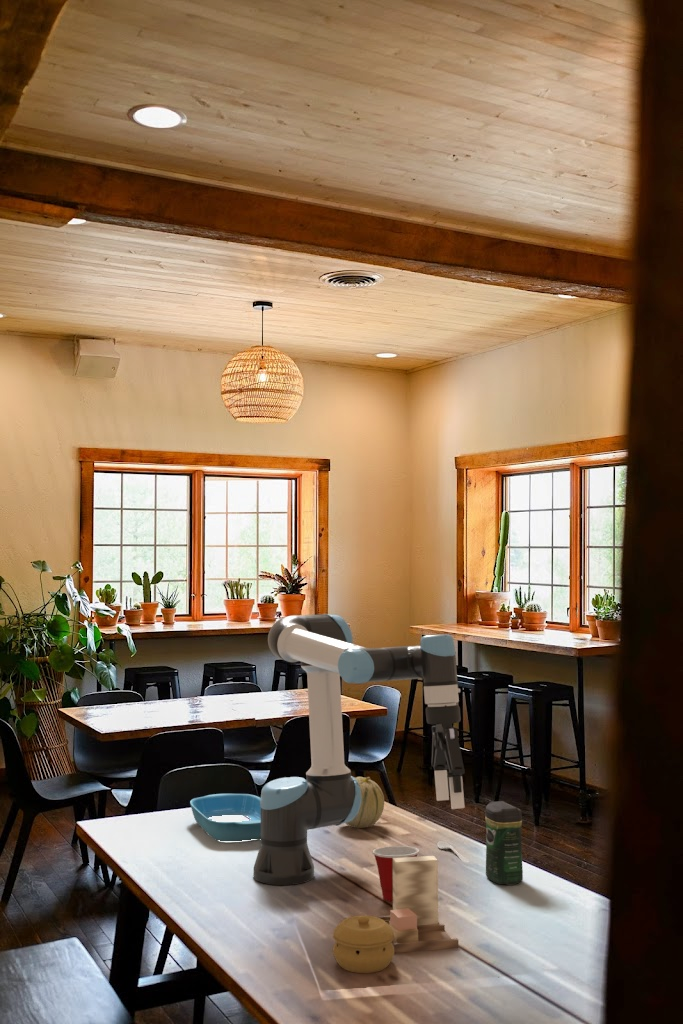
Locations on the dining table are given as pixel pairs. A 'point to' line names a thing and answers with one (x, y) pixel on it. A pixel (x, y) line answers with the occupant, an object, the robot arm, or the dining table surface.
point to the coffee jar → (503, 843)
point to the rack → (426, 938)
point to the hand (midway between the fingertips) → (450, 804)
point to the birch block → (416, 887)
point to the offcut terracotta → (403, 919)
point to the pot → (363, 944)
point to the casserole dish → (228, 806)
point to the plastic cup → (390, 865)
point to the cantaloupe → (368, 804)
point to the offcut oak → (404, 935)
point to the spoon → (444, 844)
